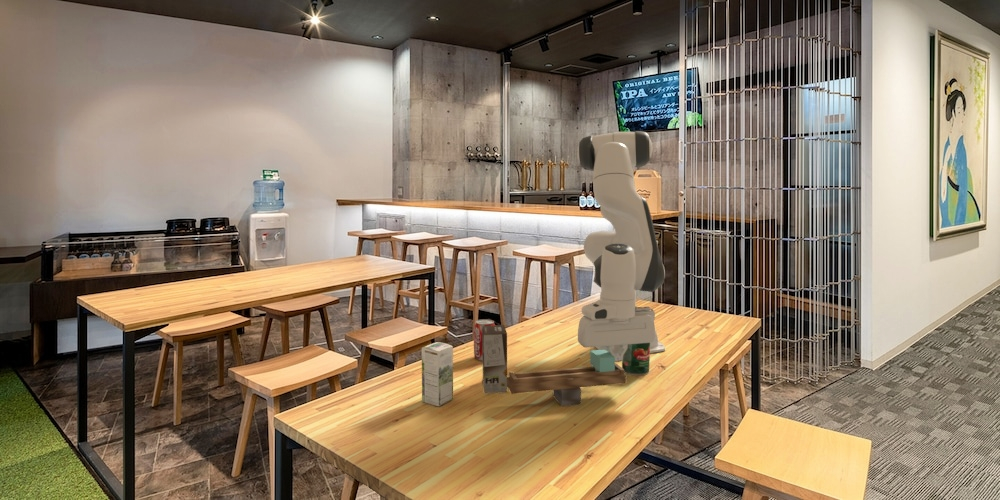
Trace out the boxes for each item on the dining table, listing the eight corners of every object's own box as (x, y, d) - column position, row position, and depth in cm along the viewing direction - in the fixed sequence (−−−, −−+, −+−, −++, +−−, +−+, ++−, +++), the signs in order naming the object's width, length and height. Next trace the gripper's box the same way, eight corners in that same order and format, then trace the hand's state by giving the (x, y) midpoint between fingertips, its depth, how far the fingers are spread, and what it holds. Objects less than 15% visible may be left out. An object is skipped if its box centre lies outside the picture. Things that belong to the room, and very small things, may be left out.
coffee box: (508, 392, 141) (507, 333, 139) (483, 393, 141) (483, 334, 139) (504, 380, 150) (504, 324, 149) (482, 381, 150) (481, 325, 148)
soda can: (493, 362, 165) (493, 324, 164) (471, 361, 167) (471, 323, 165) (498, 355, 172) (498, 319, 171) (476, 354, 174) (476, 318, 172)
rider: (604, 367, 141) (604, 349, 141) (614, 375, 135) (614, 357, 134) (590, 368, 140) (590, 350, 140) (599, 377, 134) (600, 358, 134)
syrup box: (436, 394, 140) (435, 341, 139) (454, 399, 137) (453, 344, 135) (421, 402, 136) (420, 346, 134) (439, 407, 132) (438, 350, 131)
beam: (615, 389, 143) (616, 362, 142) (627, 399, 136) (628, 370, 135) (506, 400, 137) (506, 371, 136) (512, 411, 130) (512, 381, 129)
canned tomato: (644, 376, 152) (645, 339, 151) (617, 372, 157) (618, 335, 155) (652, 368, 159) (653, 332, 158) (626, 364, 163) (627, 329, 162)
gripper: (648, 303, 142) (647, 354, 143) (575, 307, 137) (575, 360, 139) (660, 308, 136) (659, 361, 137) (584, 313, 131) (584, 368, 133)
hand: (616, 361), depth 138 cm, fingers closed
